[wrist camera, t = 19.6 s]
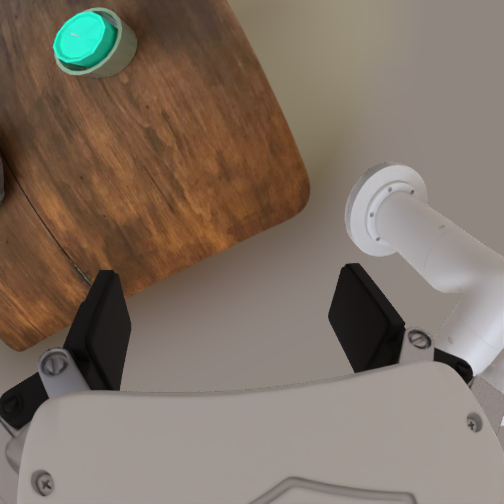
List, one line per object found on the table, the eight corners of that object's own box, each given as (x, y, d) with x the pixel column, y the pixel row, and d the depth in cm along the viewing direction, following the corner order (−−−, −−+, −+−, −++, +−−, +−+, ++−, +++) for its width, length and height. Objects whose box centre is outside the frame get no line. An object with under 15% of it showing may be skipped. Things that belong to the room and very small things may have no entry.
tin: (139, 18, 25) (125, 1, 18) (135, 73, 29) (118, 67, 22) (82, 30, 23) (58, 18, 16) (79, 83, 27) (52, 81, 21)
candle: (90, 75, 27) (47, 70, 17) (87, 38, 24) (46, 21, 14) (131, 63, 27) (100, 49, 17) (128, 25, 24) (99, -1, 14)
